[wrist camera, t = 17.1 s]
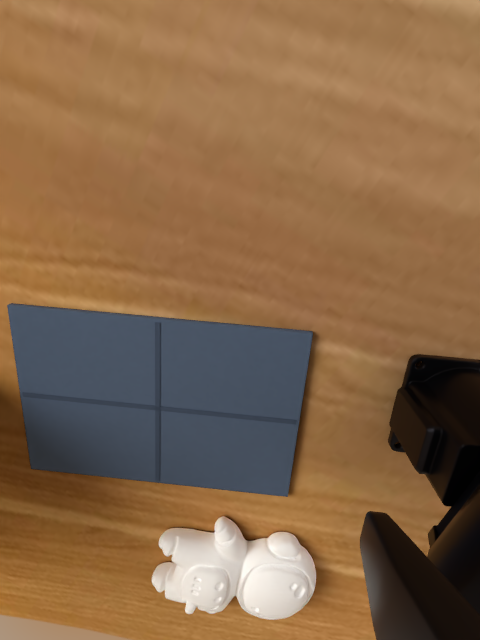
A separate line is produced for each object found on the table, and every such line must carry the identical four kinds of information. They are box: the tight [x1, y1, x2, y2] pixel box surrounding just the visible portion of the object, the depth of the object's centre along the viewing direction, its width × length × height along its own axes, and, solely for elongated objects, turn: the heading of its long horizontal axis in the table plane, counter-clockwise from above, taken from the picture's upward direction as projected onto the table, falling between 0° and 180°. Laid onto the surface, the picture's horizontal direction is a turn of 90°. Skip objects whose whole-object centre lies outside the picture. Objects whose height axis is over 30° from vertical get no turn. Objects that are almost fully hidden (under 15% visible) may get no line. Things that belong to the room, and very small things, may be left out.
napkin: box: [7, 303, 313, 497], centre depth 22 cm, size 18×12×1 cm, turn 86°
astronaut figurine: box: [152, 516, 316, 620], centre depth 25 cm, size 9×12×3 cm
